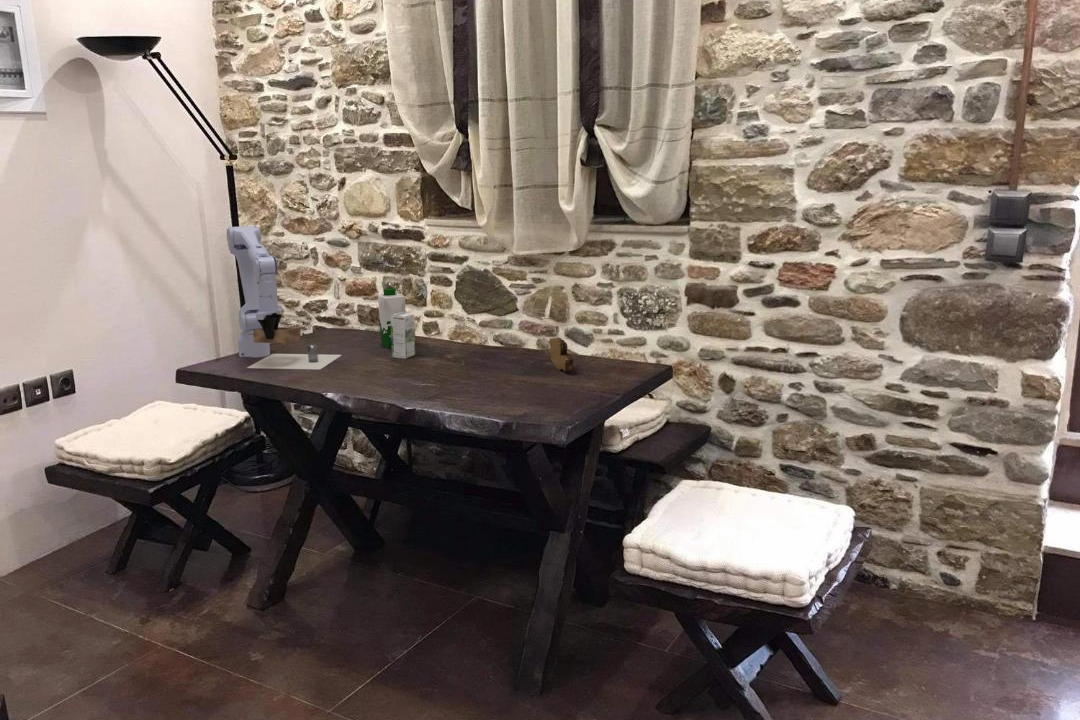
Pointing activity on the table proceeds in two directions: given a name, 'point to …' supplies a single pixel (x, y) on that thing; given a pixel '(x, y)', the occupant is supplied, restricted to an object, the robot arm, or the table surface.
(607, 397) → the table surface
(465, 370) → the table surface
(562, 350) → the wooden carving
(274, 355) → the post board
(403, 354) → the syrup box
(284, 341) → the square collar
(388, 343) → the milk carton
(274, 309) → the robot arm
